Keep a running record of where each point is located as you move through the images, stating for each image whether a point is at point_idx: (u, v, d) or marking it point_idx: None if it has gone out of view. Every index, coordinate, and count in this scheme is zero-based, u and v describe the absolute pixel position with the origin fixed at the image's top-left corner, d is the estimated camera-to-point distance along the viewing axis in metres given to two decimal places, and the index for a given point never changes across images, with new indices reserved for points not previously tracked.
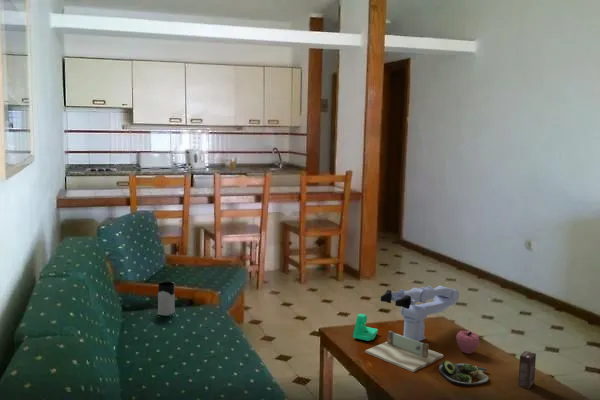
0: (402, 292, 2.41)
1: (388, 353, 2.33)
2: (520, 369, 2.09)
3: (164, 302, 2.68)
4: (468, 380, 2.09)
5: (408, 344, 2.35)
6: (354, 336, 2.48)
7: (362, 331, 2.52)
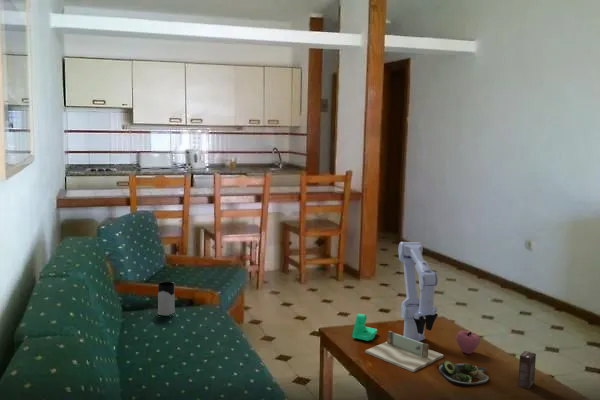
0: None
1: (388, 353, 2.33)
2: (520, 369, 2.09)
3: (164, 302, 2.68)
4: (468, 380, 2.09)
5: (408, 344, 2.35)
6: (353, 336, 2.49)
7: (361, 331, 2.52)
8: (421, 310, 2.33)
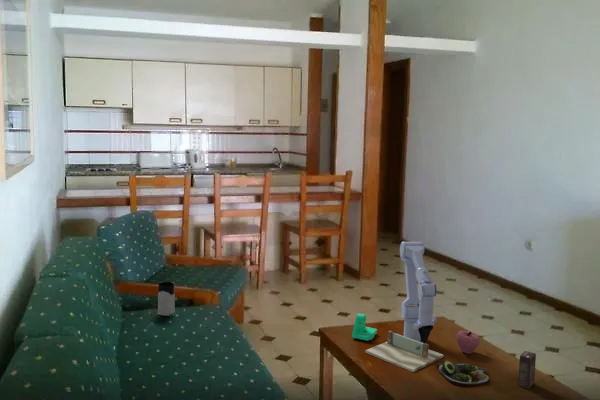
0: None
1: (388, 353, 2.33)
2: (520, 369, 2.09)
3: (164, 302, 2.68)
4: (468, 380, 2.09)
5: (408, 344, 2.35)
6: (353, 336, 2.49)
7: (361, 331, 2.53)
8: (420, 320, 2.33)
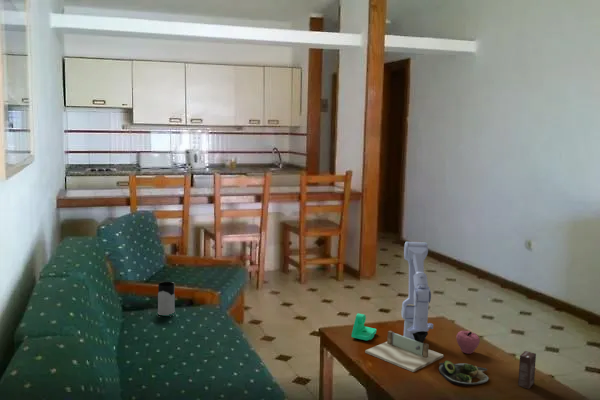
0: None
1: (388, 353, 2.33)
2: (520, 369, 2.09)
3: (164, 302, 2.68)
4: (468, 380, 2.09)
5: (408, 344, 2.35)
6: (352, 336, 2.49)
7: (361, 331, 2.53)
8: (414, 326, 2.32)
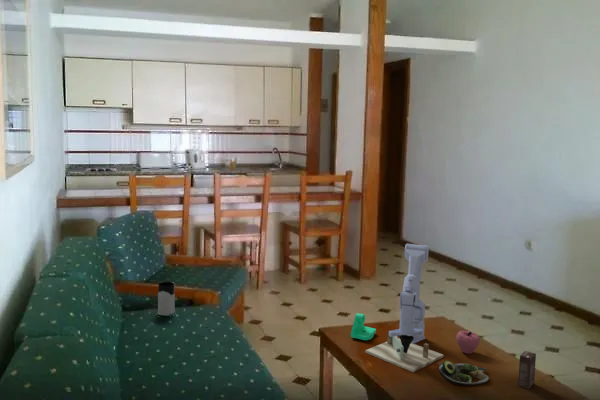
0: None
1: (388, 353, 2.33)
2: (520, 369, 2.09)
3: (164, 302, 2.68)
4: (468, 380, 2.09)
5: (396, 345, 2.33)
6: (352, 335, 2.49)
7: (360, 331, 2.53)
8: (399, 329, 2.28)
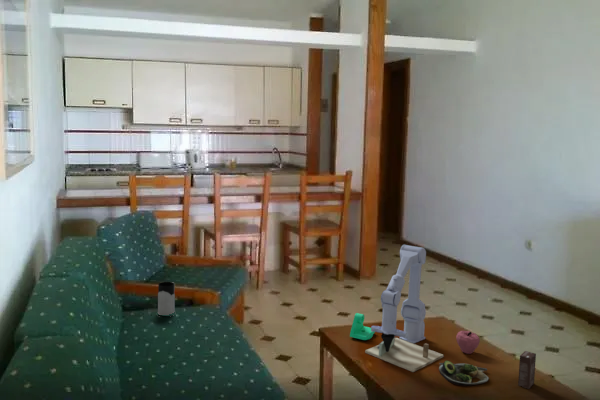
0: (388, 333, 2.26)
1: (388, 353, 2.33)
2: (520, 369, 2.09)
3: (164, 302, 2.68)
4: (468, 380, 2.09)
5: None
6: (351, 335, 2.49)
7: (359, 330, 2.53)
8: None
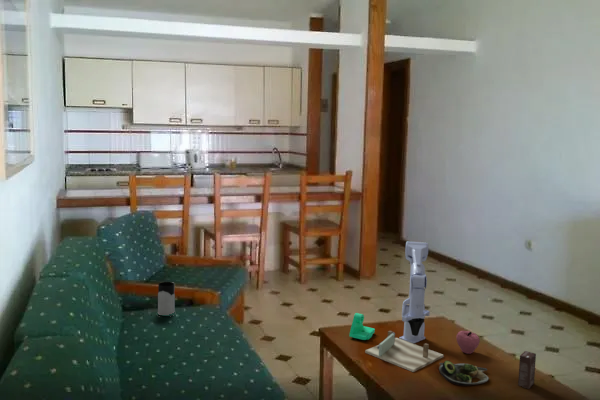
0: None
1: (388, 353, 2.33)
2: (520, 369, 2.09)
3: (164, 302, 2.68)
4: (468, 380, 2.09)
5: None
6: (350, 335, 2.49)
7: (359, 330, 2.53)
8: (410, 313, 2.29)
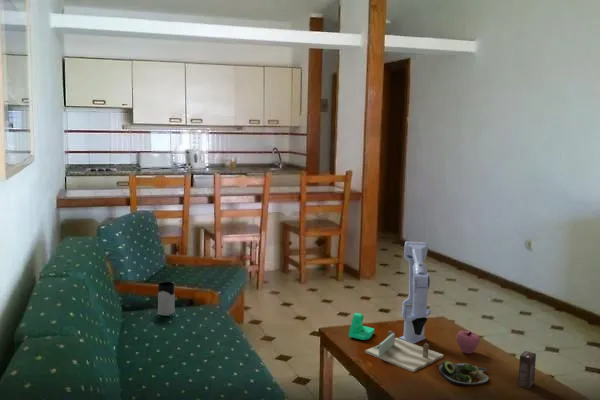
0: None
1: (388, 353, 2.33)
2: (520, 369, 2.09)
3: (164, 302, 2.68)
4: (468, 380, 2.09)
5: None
6: (350, 335, 2.50)
7: (358, 330, 2.53)
8: (414, 313, 2.29)
